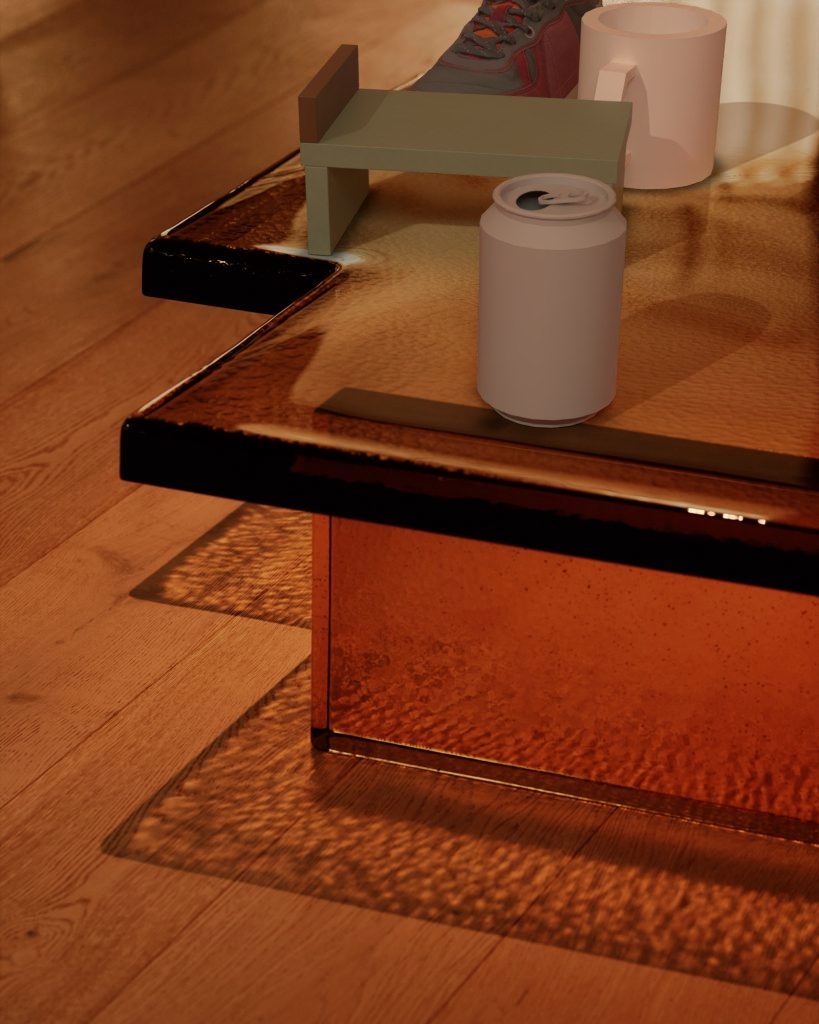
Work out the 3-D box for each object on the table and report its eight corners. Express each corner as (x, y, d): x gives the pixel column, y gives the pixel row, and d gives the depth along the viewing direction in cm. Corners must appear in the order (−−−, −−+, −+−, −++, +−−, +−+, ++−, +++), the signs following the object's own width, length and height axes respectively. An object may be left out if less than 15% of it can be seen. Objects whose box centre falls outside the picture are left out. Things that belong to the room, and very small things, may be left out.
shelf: (626, 208, 112) (635, 57, 106) (611, 275, 101) (621, 112, 96) (345, 191, 115) (341, 43, 109) (304, 254, 105) (297, 95, 99)
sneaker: (373, 160, 121) (370, -3, 114) (524, 64, 142) (529, -78, 136) (497, 180, 116) (500, 13, 110) (633, 78, 138) (643, -67, 132)
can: (494, 364, 91) (498, 159, 84) (626, 380, 89) (640, 171, 83) (461, 425, 85) (463, 208, 78) (602, 443, 83) (616, 223, 77)
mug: (676, 213, 111) (689, 58, 105) (538, 192, 114) (543, 42, 109) (729, 153, 121) (743, 10, 116) (600, 136, 125) (608, -4, 119)
